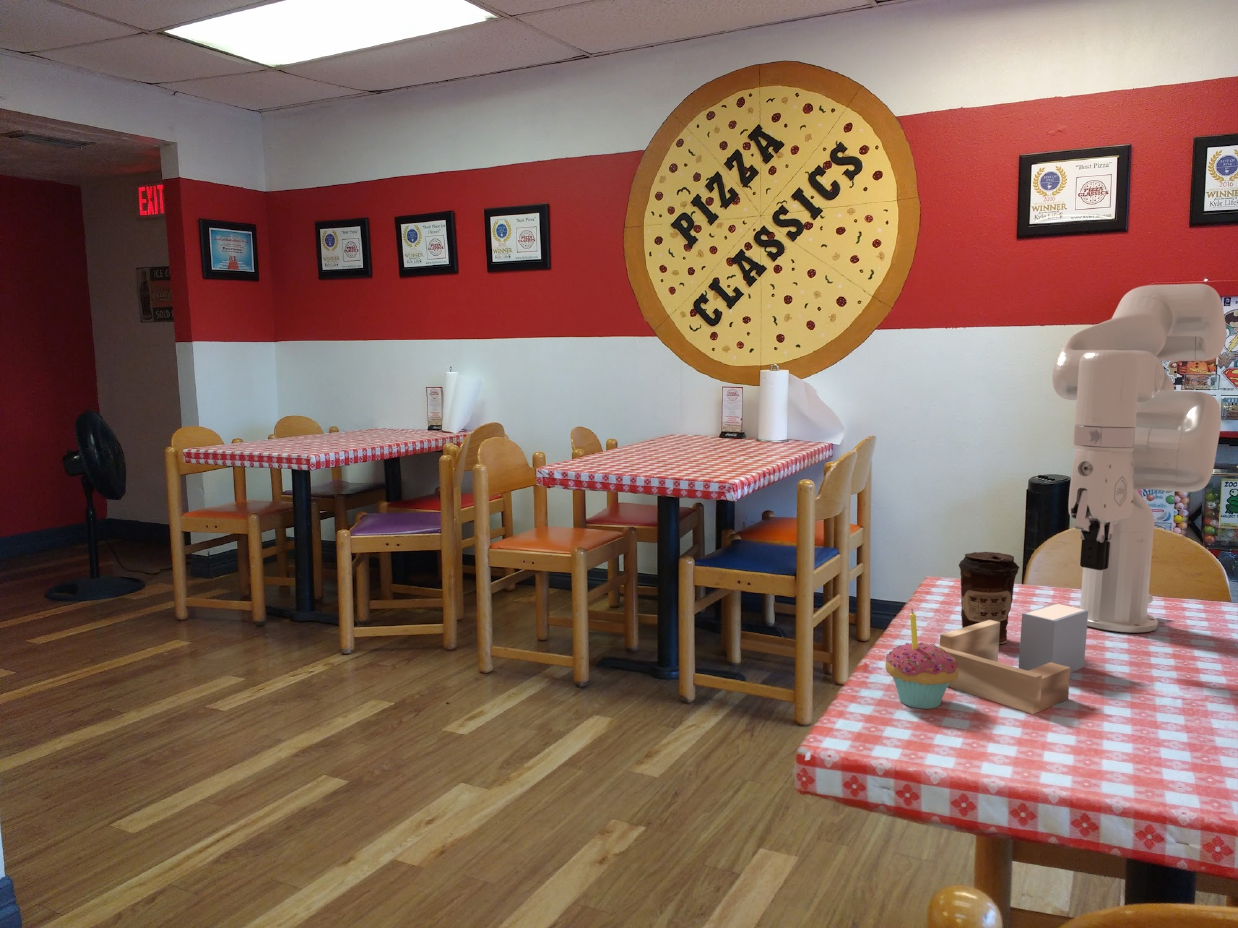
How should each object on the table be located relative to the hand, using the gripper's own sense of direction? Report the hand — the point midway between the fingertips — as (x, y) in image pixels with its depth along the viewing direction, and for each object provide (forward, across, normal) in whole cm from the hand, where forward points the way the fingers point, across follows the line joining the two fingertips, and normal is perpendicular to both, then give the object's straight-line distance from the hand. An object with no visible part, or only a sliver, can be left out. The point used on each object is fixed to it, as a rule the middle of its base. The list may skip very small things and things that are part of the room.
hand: (1093, 567), depth 130 cm
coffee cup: (+13, -6, +13) cm, 19 cm away
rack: (+13, -21, 0) cm, 24 cm away
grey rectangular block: (+13, -10, 0) cm, 16 cm away
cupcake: (+13, -36, +4) cm, 38 cm away
